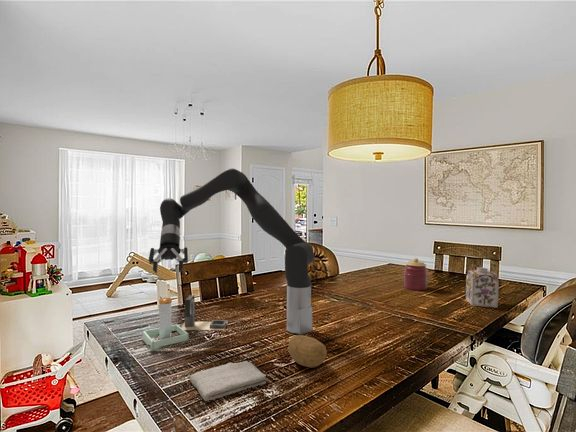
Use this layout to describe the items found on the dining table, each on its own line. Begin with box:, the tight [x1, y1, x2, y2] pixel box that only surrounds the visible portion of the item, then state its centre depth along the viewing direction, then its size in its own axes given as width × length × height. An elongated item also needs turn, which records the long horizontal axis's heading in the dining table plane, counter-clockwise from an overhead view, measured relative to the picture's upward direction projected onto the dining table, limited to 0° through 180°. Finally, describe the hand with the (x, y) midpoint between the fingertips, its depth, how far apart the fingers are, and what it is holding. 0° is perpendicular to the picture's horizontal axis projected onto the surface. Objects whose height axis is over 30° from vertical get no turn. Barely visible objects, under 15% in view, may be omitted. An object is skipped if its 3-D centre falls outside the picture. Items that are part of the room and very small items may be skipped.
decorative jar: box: [465, 266, 500, 309], centre depth 170 cm, size 12×12×18 cm
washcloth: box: [189, 360, 267, 402], centre depth 92 cm, size 12×18×3 cm, turn 124°
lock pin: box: [158, 297, 173, 340], centre depth 119 cm, size 4×4×14 cm
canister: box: [403, 257, 428, 291], centre depth 202 cm, size 13×13×18 cm
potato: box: [287, 334, 328, 369], centre depth 103 cm, size 10×14×8 cm
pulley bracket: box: [180, 295, 228, 331], centre depth 132 cm, size 17×9×12 cm, turn 92°
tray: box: [141, 323, 190, 352], centre depth 119 cm, size 12×12×3 cm
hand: (167, 271), depth 129 cm, fingers open, 8 cm apart
